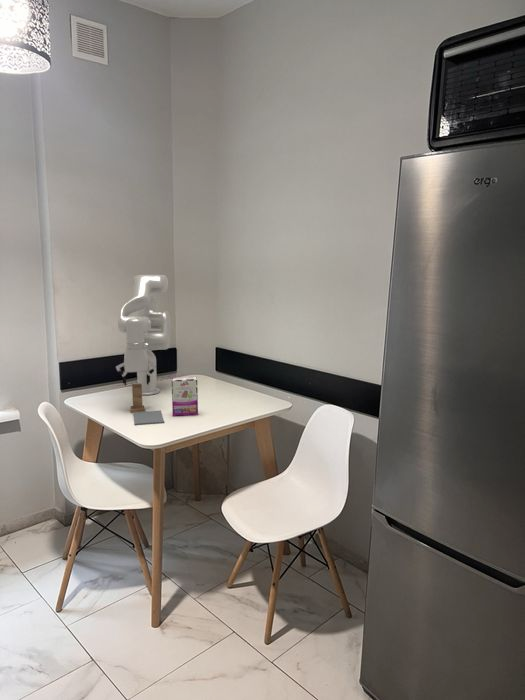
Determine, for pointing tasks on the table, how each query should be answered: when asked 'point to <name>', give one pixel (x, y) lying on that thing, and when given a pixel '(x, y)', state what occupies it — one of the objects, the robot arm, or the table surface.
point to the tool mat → (148, 417)
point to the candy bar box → (184, 396)
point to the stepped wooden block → (137, 398)
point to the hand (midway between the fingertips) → (136, 384)
